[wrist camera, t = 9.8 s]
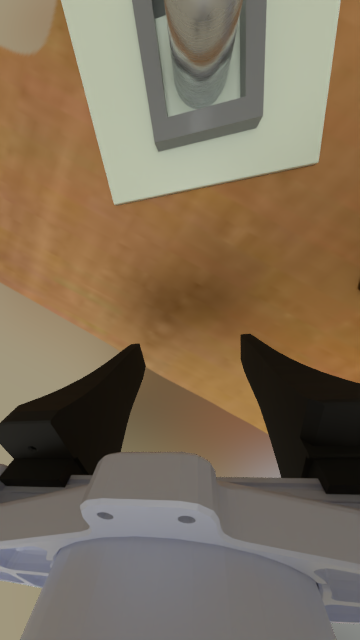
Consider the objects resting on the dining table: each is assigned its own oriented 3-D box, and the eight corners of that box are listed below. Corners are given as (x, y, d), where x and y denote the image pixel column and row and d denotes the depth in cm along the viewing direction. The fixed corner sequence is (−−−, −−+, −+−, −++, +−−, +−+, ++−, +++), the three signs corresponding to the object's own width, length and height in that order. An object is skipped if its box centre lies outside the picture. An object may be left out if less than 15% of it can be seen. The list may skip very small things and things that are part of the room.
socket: (358, -175, 9) (400, -280, 7) (314, 164, 15) (331, 153, 13) (52, -44, 11) (25, -98, 10) (116, 205, 17) (106, 201, 15)
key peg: (226, 15, 11) (255, -186, 6) (230, 99, 13) (256, 1, 8) (168, 38, 12) (147, -127, 7) (179, 116, 14) (169, 35, 8)
